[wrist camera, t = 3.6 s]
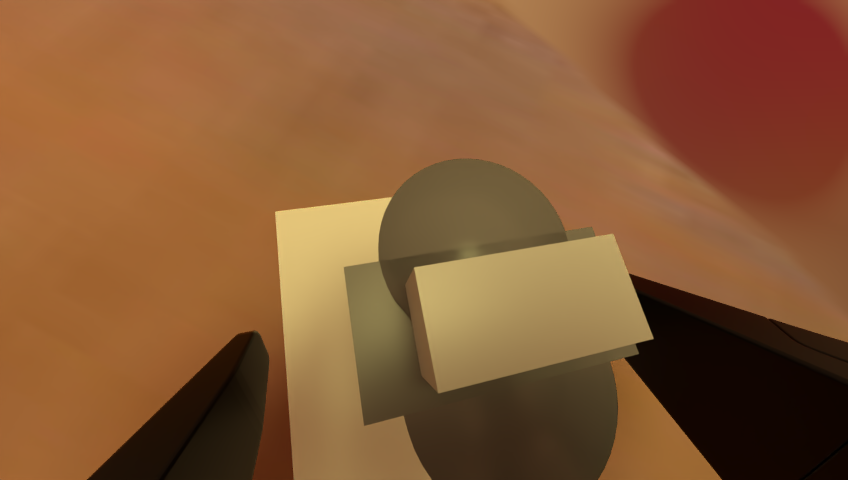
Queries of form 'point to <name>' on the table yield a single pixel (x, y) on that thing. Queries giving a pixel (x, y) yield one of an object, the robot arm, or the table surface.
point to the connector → (492, 328)
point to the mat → (332, 348)
